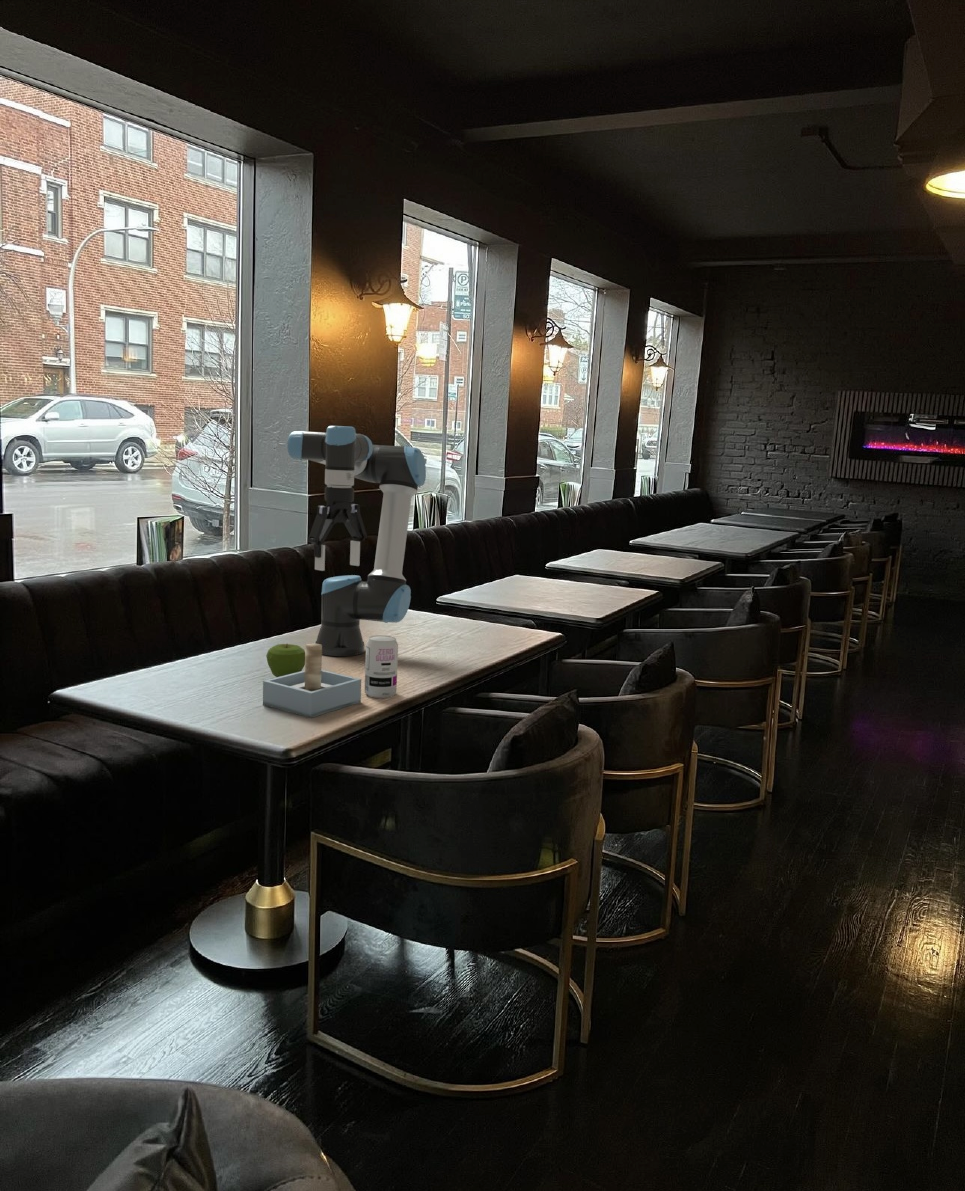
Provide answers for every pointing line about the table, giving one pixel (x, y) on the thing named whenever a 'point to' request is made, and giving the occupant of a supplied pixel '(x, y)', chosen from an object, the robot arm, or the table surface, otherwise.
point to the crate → (311, 693)
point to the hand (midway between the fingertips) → (337, 567)
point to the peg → (313, 666)
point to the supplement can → (381, 666)
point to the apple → (285, 659)
